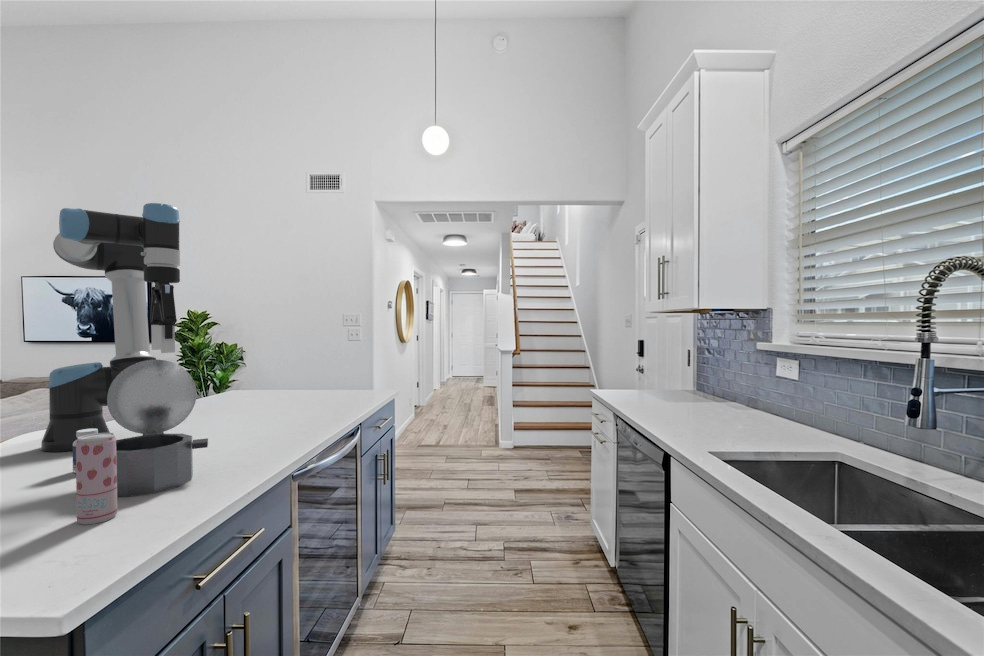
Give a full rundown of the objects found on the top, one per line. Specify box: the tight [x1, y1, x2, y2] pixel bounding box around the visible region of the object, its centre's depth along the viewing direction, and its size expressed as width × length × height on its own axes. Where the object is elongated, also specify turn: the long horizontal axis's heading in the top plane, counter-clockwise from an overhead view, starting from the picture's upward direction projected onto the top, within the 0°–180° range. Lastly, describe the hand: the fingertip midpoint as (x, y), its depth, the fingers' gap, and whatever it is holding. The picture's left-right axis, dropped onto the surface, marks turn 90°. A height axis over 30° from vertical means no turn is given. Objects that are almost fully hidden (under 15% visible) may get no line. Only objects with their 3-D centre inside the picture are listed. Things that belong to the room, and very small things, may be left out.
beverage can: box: [75, 432, 119, 525], centre depth 87 cm, size 6×6×15 cm
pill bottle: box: [72, 429, 98, 474], centre depth 115 cm, size 5×5×10 cm
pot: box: [116, 433, 209, 498], centre depth 106 cm, size 17×23×9 cm
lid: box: [107, 359, 198, 436], centre depth 116 cm, size 18×18×3 cm
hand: (162, 351), depth 122 cm, fingers open, 13 cm apart
